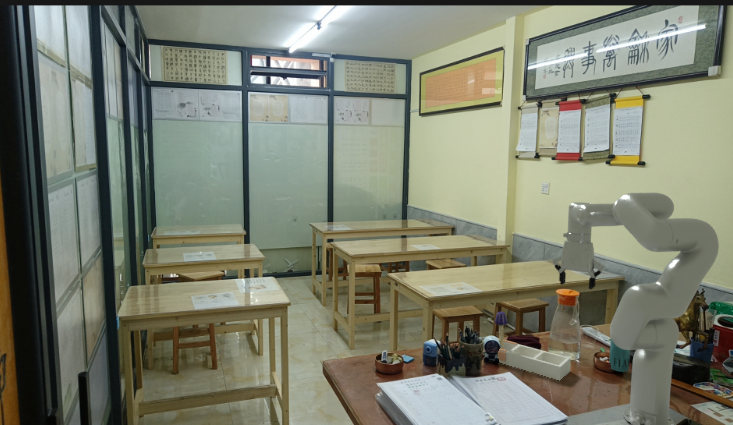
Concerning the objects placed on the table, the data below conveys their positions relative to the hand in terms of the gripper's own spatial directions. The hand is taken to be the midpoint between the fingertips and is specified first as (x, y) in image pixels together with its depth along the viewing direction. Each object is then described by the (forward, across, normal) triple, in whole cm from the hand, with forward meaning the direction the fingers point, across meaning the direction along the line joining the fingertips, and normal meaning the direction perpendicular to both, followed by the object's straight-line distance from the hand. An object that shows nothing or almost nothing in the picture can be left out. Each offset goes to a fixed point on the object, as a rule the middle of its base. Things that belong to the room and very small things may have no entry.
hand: (576, 286), depth 167 cm
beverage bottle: (+31, +13, +8) cm, 34 cm away
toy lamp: (+30, -24, -8) cm, 39 cm away
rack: (+30, -14, -8) cm, 34 cm away
